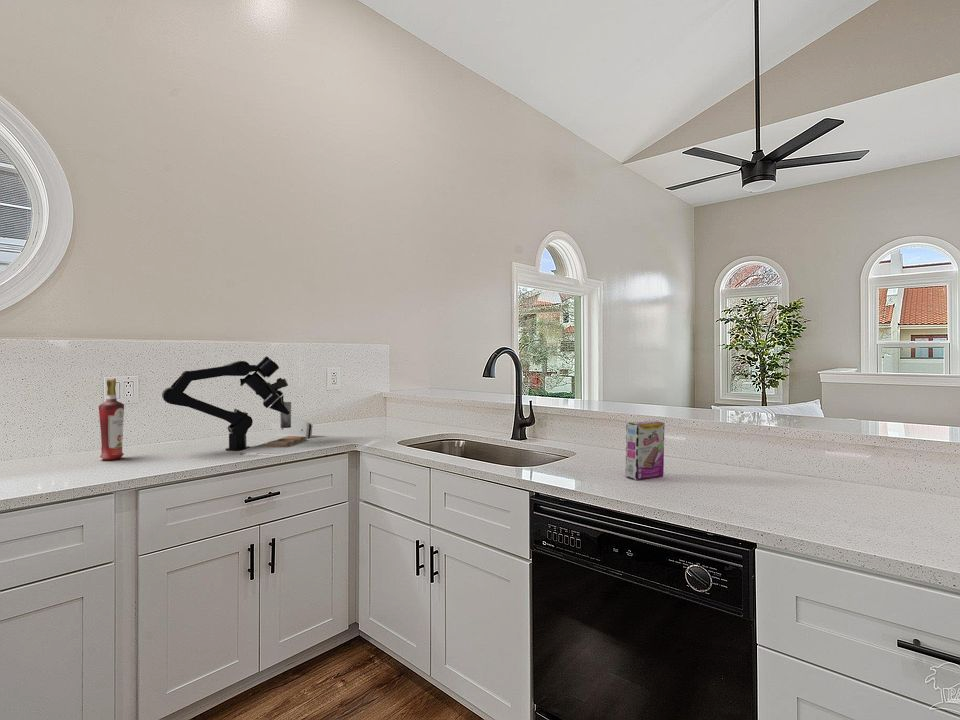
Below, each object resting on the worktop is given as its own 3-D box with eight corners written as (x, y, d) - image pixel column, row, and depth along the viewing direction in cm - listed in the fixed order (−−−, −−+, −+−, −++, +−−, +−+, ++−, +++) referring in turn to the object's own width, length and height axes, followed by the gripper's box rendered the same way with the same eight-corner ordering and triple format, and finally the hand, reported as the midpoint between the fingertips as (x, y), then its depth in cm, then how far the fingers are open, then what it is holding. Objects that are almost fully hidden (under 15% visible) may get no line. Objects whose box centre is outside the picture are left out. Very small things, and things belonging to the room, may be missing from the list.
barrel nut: (287, 428, 207) (287, 402, 207) (278, 427, 208) (278, 402, 207) (292, 426, 211) (293, 401, 211) (283, 426, 212) (283, 401, 211)
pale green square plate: (318, 448, 204) (318, 445, 204) (298, 447, 205) (298, 445, 205) (327, 444, 212) (327, 442, 212) (308, 444, 213) (308, 442, 213)
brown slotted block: (286, 449, 202) (286, 442, 202) (267, 449, 203) (266, 442, 203) (306, 442, 218) (306, 436, 218) (288, 442, 219) (288, 435, 219)
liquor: (112, 456, 188) (111, 378, 188) (129, 457, 187) (129, 378, 186) (93, 460, 181) (92, 379, 181) (112, 461, 180) (111, 379, 179)
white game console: (272, 439, 226) (277, 416, 229) (279, 441, 230) (284, 419, 233) (303, 441, 220) (308, 418, 223) (310, 443, 224) (315, 420, 227)
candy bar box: (637, 481, 152) (637, 424, 152) (625, 477, 156) (625, 422, 156) (665, 476, 157) (665, 422, 157) (652, 473, 161) (652, 420, 161)
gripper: (272, 372, 199) (303, 400, 202) (277, 370, 217) (305, 397, 220) (250, 393, 197) (281, 421, 200) (257, 390, 215) (285, 416, 218)
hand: (289, 413), depth 210 cm, fingers closed on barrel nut, 4 cm apart
